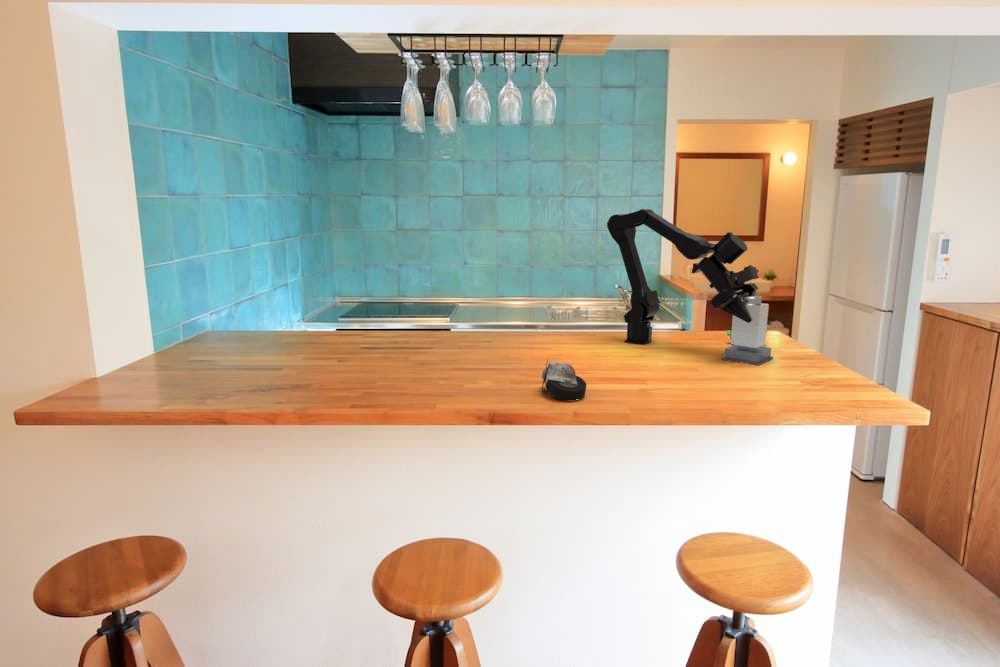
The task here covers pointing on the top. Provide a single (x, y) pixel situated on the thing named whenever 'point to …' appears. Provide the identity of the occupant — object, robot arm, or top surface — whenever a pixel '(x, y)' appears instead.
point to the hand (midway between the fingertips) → (754, 320)
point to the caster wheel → (563, 381)
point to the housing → (751, 323)
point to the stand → (748, 354)
